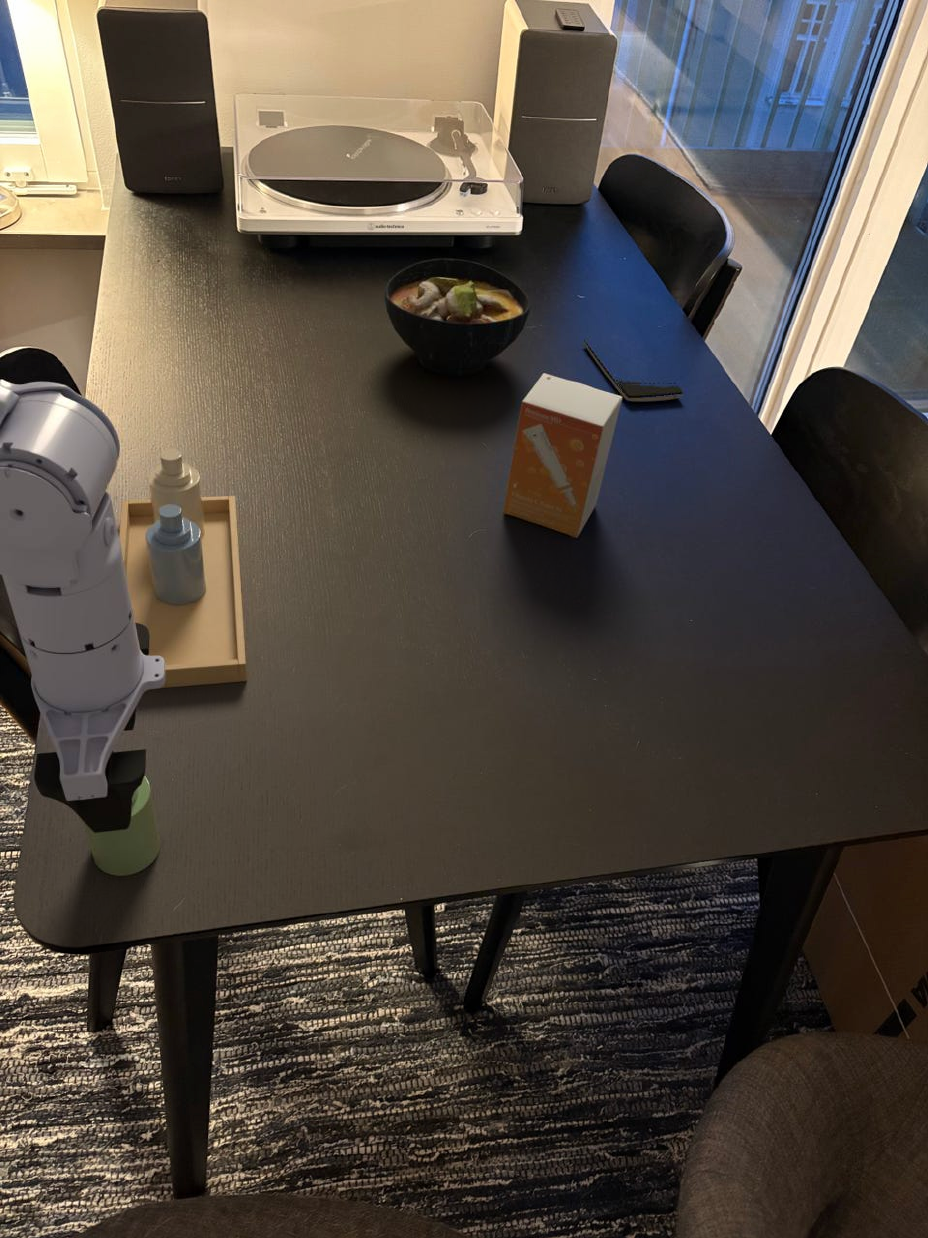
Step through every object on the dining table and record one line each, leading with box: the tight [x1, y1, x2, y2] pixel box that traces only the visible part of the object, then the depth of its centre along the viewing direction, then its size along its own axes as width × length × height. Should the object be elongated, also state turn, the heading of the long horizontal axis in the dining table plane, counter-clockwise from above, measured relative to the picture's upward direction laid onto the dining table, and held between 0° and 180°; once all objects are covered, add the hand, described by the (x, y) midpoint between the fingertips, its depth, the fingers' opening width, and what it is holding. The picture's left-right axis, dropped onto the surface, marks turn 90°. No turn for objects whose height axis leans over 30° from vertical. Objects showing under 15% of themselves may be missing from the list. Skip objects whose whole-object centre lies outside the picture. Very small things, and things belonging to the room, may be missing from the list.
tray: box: [118, 495, 248, 689], centre depth 83 cm, size 10×22×2 cm, turn 12°
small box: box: [503, 372, 623, 539], centre depth 94 cm, size 8×6×13 cm
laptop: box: [583, 339, 684, 402], centre depth 120 cm, size 7×1×15 cm
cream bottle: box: [147, 448, 205, 538], centre depth 86 cm, size 4×4×8 cm
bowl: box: [384, 258, 531, 377], centre depth 115 cm, size 17×17×10 cm
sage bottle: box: [81, 775, 162, 877], centre depth 63 cm, size 4×4×8 cm
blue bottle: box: [145, 504, 207, 605], centre depth 81 cm, size 4×4×8 cm
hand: (114, 774), depth 60 cm, fingers open, 7 cm apart
